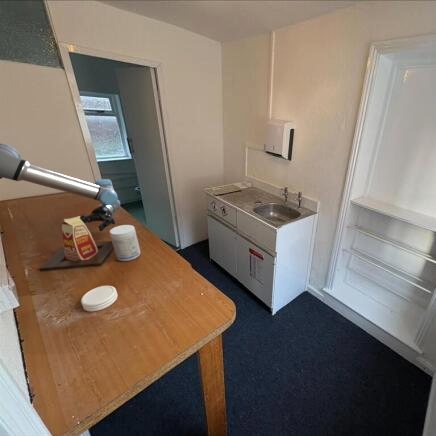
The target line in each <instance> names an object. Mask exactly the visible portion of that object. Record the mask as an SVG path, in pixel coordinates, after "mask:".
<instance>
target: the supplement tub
mask: <svg viewBox="0 0 436 436" xmlns="http://www.w3.org/2000/svg"><path fill="white" fill-rule="evenodd" d="M136 231H137V230H136V229H135V226H134V225H131V224H122V225H118V226H117V225H116V226H114V227H113V228H111V229H110V230H109V235H110V239H111V240H110V241H112V243H113V246H114V252H115V255H116V258H117V260H118V261H121V262H129V261H130V262H131V261H133V260H135V259H138V258H139V256H140V255H141V248H140V244H139V240H138V235H137V232H136Z"/></svg>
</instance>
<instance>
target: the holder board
mask: <svg viewBox="0 0 436 436" xmlns="http://www.w3.org/2000/svg"><path fill="white" fill-rule="evenodd" d="M94 242H95V244H96V246H97V249H99V250H98V252H97V254H96V255H94V256H93V257H91V258H89V259H87V260H75V261H74V260H67V259H66V255H65V252H64V246H63V247H61V249H59V250H58V251H57V252H56V253H55V254H54V255H52V256H51V257H50V258H49V259H48V260H47V261H45V262H44V264H42V265H41V266H40V267H39V268H38V270H39V272H48V271H49V272H50V271H59V270H69V269H79V268H80V269H81V268H82V269H83V268H93V267H101V266H103V265H104V264H105V262H106V261H107V259H108V258H109V257H110V255H111V254H112V253H113V251H115V249H114V246H113V243H112V240H108V241H94Z"/></svg>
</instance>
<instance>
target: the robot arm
mask: <svg viewBox="0 0 436 436" xmlns="http://www.w3.org/2000/svg"><path fill="white" fill-rule="evenodd" d="M1 179H7V180H11V181H15V182H20V181H24V182H28V183H32V184H35V185H39V186H43V187H46V188H50V189H55V190H56V191H57V190H58V191H62V192H65V193H69V194H72V195H76V196H80V197H83V198H87V199H91V200H93V201H94V200H95V201H97V202H100V204H99V205H97V206H96V207H95V208H94V209H93V210H92V211H91V213H90V214H88V215H86V214H84V213H83V214H81V215H79V216H80V219H81V220H82V221H83V222H84V223H85V224H86V223H92V222H101V223H100V224H99V225H98V230H99V232H102V231H104V230H105V228H107V227H109V226H110V225H115V224H116V221H115V219H114V218H115V216H114V213H115V212H116V211H117V210H119V208H120V206H121V201H120V200H119V197H118V194H117V192H116V190H115V189H114V186H113V183H112V180H111V179H109V178H102V179H101V178H100V179H97V180H95V181H94V183H91V182H88V181H85V180H82V179H79V178H75V177H72V176H68V175H66V174H62V173H60V172H55V171H52V170H50V169H46V168H43V167H40V166H38V165H37V166H36V165H34V164H31V163H29V161H28V160H26V159H22V157H21V155H20V153H19V151H17V149H15V148H14V147H13V146H11V145H9V144H5V143H1V142H0V180H1Z"/></svg>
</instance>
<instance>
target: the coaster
mask: <svg viewBox="0 0 436 436" xmlns="http://www.w3.org/2000/svg"><path fill="white" fill-rule="evenodd" d="M117 300H118V292H117V289H116V287H114V286H112V285H101V286H97V287H94V288H92V289H91V290H88V291H87V292H86V293H85V294H84V295H82V297H81V299H80V303H81V306H82V308H83V310H84V311H86V312H98V311H102V310H105V309H107V308H109V307H110V306H112V305H113V304H114V303H116V301H117Z"/></svg>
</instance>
